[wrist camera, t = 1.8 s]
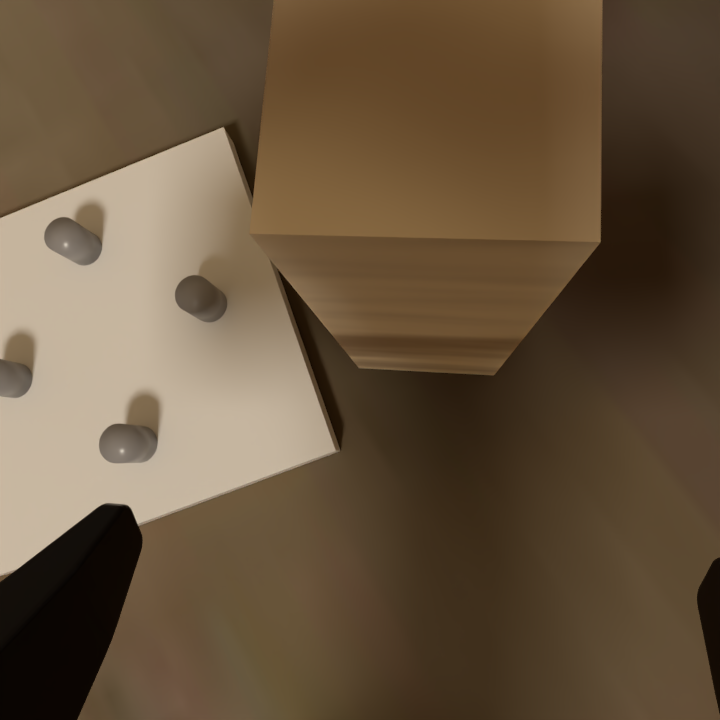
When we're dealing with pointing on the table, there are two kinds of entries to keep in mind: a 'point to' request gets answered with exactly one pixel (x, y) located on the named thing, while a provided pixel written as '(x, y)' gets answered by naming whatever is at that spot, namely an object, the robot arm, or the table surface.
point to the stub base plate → (145, 350)
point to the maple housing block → (430, 170)
